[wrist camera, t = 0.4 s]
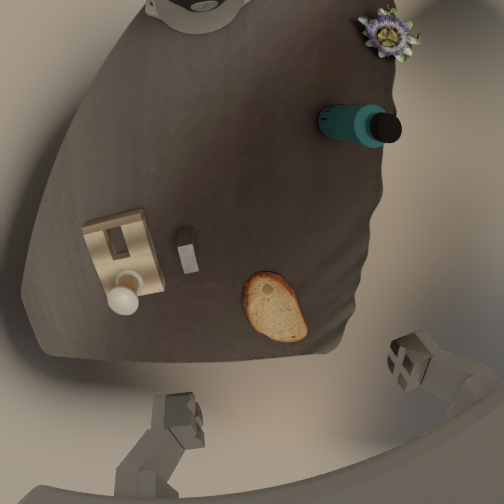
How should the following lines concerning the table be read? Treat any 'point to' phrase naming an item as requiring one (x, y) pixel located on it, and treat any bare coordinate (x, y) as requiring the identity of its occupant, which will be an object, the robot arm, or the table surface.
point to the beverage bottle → (360, 124)
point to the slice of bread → (273, 307)
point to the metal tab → (188, 250)
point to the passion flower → (389, 34)
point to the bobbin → (126, 292)
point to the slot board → (136, 258)
